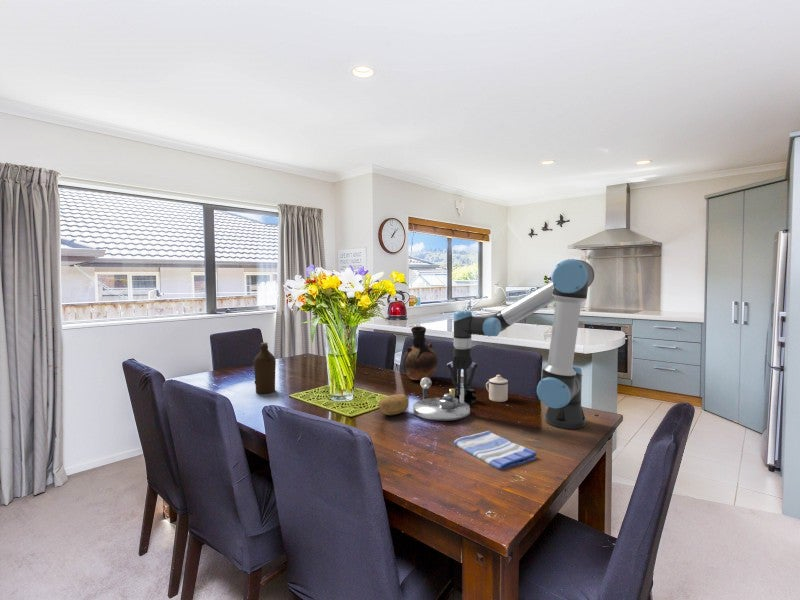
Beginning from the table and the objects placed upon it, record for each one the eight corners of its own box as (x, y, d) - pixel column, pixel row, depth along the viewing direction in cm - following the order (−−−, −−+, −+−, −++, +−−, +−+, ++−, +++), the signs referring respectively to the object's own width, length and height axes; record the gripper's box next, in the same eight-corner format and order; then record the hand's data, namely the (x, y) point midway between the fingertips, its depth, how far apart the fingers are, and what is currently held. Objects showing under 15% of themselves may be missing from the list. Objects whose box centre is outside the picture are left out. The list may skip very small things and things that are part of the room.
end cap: (467, 398, 201) (467, 385, 200) (477, 402, 195) (477, 388, 194) (450, 402, 196) (450, 387, 196) (459, 406, 190) (459, 391, 190)
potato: (373, 414, 180) (373, 395, 179) (400, 408, 187) (400, 390, 187) (385, 420, 171) (385, 401, 171) (413, 414, 179) (413, 395, 179)
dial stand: (431, 404, 192) (431, 377, 191) (421, 405, 191) (420, 378, 190) (429, 402, 196) (429, 375, 195) (418, 402, 195) (418, 376, 194)
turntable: (453, 424, 163) (453, 407, 162) (402, 413, 176) (402, 396, 176) (479, 408, 183) (479, 392, 182) (431, 399, 196) (431, 384, 196)
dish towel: (489, 435, 156) (489, 428, 156) (539, 460, 136) (539, 451, 136) (451, 445, 148) (451, 437, 148) (499, 472, 127) (499, 463, 127)
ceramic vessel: (429, 374, 250) (429, 324, 248) (444, 381, 234) (444, 327, 232) (396, 378, 241) (396, 326, 239) (409, 385, 225) (409, 329, 223)
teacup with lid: (512, 399, 199) (512, 375, 198) (499, 403, 193) (499, 378, 193) (492, 394, 208) (492, 370, 208) (479, 397, 203) (480, 373, 202)
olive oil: (280, 389, 218) (279, 341, 217) (267, 395, 208) (266, 345, 207) (263, 387, 222) (262, 340, 220) (250, 393, 212) (248, 344, 210)
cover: (461, 405, 180) (461, 394, 180) (452, 410, 174) (452, 398, 173) (444, 402, 185) (444, 391, 184) (435, 407, 178) (435, 395, 178)
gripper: (476, 345, 181) (475, 399, 183) (446, 345, 182) (445, 399, 183) (479, 349, 174) (478, 405, 175) (447, 349, 174) (447, 404, 176)
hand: (461, 402), depth 179 cm, fingers closed
